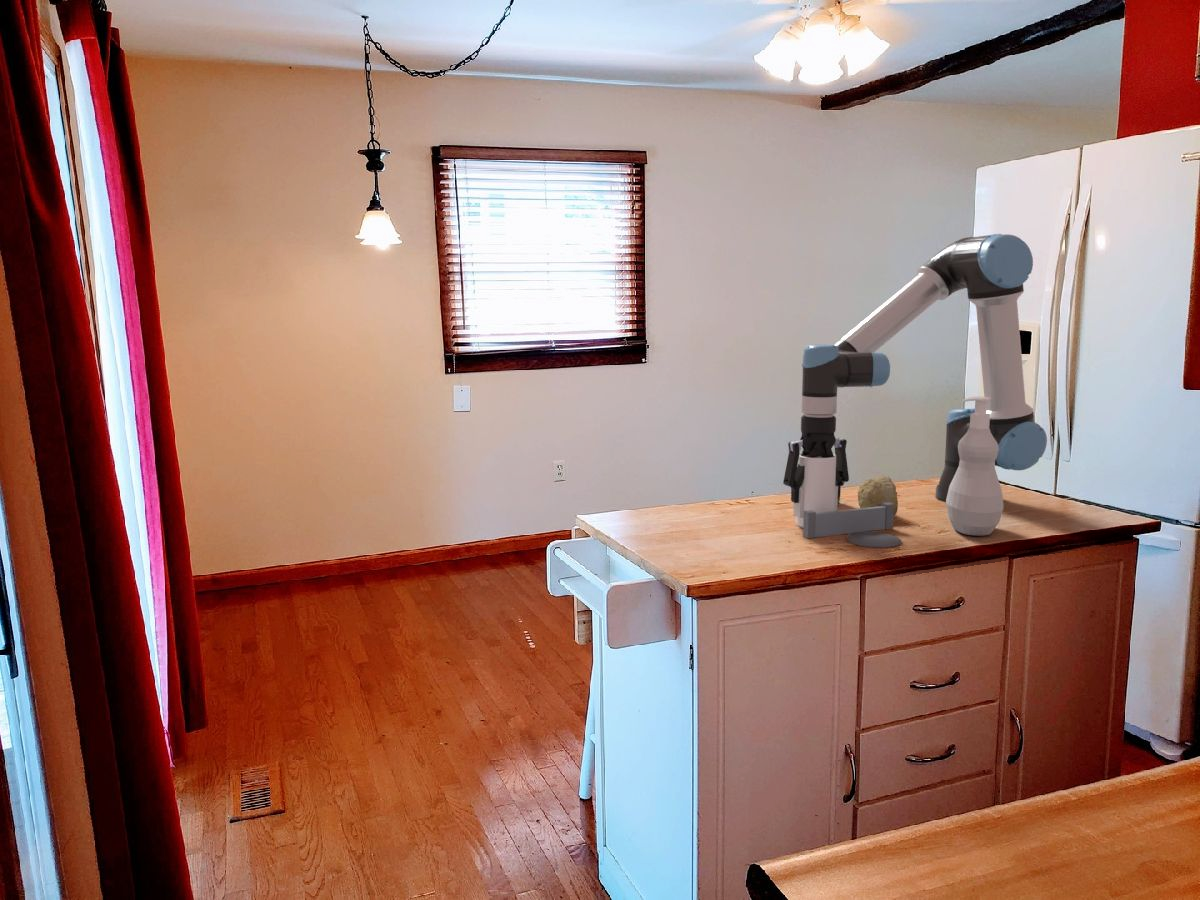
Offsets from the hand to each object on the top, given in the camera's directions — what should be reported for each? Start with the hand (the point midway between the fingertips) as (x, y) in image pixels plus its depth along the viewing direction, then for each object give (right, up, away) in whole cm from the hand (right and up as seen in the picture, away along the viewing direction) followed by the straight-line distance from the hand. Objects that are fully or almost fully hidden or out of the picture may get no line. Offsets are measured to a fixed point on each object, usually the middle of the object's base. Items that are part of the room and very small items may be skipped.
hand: (815, 514), depth 201 cm
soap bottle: (+33, -3, -6) cm, 34 cm away
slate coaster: (+9, -5, -13) cm, 17 cm away
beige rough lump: (+16, -1, +8) cm, 18 cm away
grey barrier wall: (+6, -3, -7) cm, 9 cm away
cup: (0, -2, 0) cm, 2 cm away
